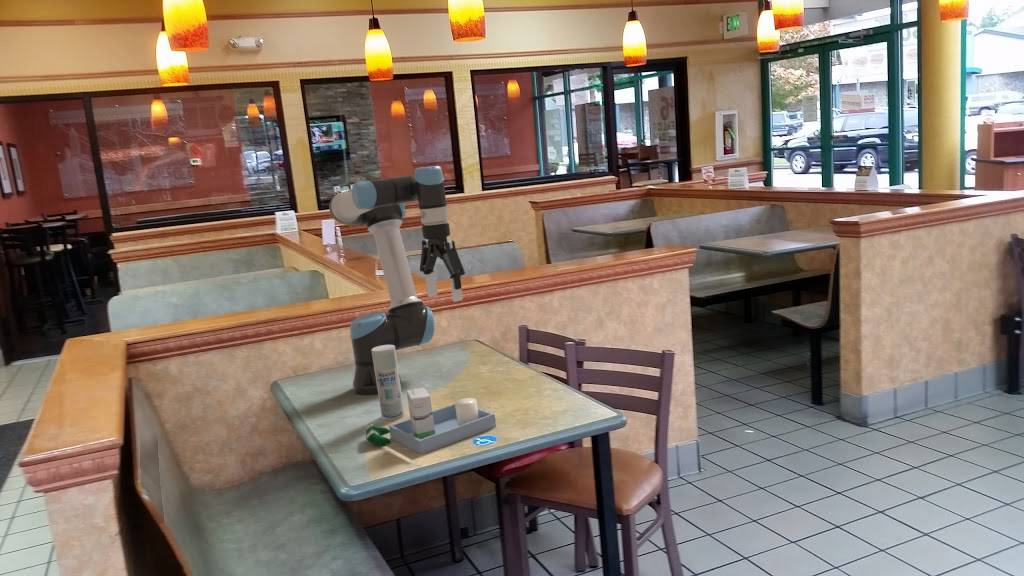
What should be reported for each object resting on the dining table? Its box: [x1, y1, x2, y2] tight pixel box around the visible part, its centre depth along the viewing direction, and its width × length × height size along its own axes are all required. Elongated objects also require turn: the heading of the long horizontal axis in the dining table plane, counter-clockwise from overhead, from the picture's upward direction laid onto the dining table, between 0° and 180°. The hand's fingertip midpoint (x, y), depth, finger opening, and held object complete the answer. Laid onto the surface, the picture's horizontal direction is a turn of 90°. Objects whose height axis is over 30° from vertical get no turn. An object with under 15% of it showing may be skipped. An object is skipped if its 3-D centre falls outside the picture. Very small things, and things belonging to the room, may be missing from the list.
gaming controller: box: [365, 423, 392, 447], centre depth 195 cm, size 9×4×6 cm
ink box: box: [406, 387, 435, 439], centre depth 192 cm, size 9×5×12 cm, turn 17°
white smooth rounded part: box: [454, 397, 479, 426], centre depth 195 cm, size 6×6×7 cm
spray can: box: [371, 345, 405, 422], centre depth 211 cm, size 6×6×20 cm
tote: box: [388, 403, 497, 455], centre depth 194 cm, size 16×22×4 cm
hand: (445, 298), depth 213 cm, fingers open, 13 cm apart
